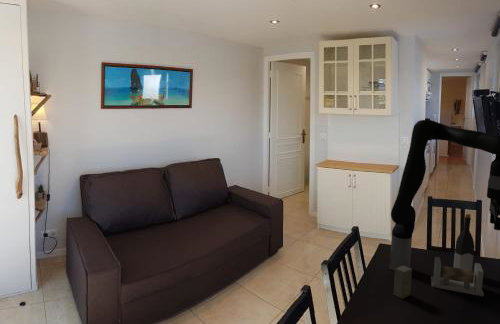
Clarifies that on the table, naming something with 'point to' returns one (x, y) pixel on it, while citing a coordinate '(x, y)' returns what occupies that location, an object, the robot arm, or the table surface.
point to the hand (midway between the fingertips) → (495, 226)
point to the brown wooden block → (457, 274)
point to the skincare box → (402, 281)
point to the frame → (457, 285)
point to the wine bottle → (464, 247)
